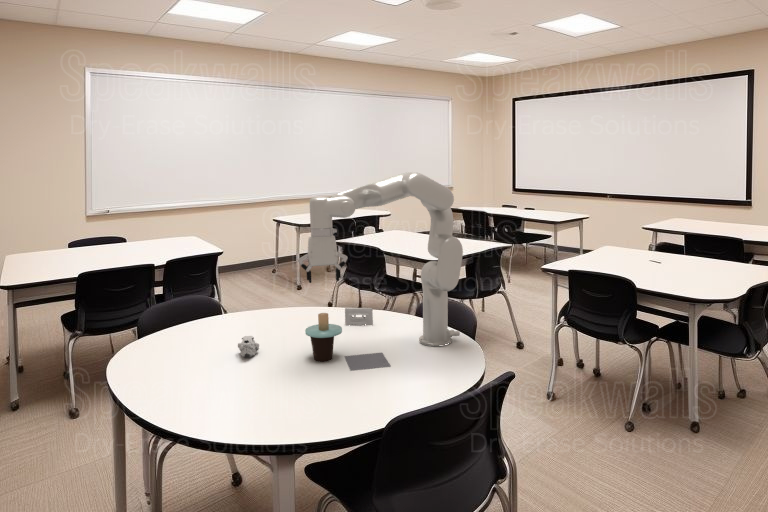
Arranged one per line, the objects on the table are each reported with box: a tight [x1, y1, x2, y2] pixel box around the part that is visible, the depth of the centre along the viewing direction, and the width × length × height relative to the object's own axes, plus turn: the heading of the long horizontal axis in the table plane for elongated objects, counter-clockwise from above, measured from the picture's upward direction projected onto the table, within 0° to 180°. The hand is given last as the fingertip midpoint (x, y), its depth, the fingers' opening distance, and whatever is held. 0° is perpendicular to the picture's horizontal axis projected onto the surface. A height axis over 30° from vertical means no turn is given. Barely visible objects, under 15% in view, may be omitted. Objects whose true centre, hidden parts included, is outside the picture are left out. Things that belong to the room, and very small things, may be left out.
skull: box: [237, 335, 260, 358], centre depth 192 cm, size 8×9×12 cm
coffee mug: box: [309, 336, 335, 363], centre depth 187 cm, size 12×9×10 cm
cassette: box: [344, 307, 374, 327], centre depth 226 cm, size 12×2×8 cm, turn 87°
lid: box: [304, 312, 343, 338], centre depth 186 cm, size 13×13×6 cm
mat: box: [344, 352, 392, 372], centre depth 184 cm, size 14×14×1 cm
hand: (323, 281), depth 184 cm, fingers open, 9 cm apart
